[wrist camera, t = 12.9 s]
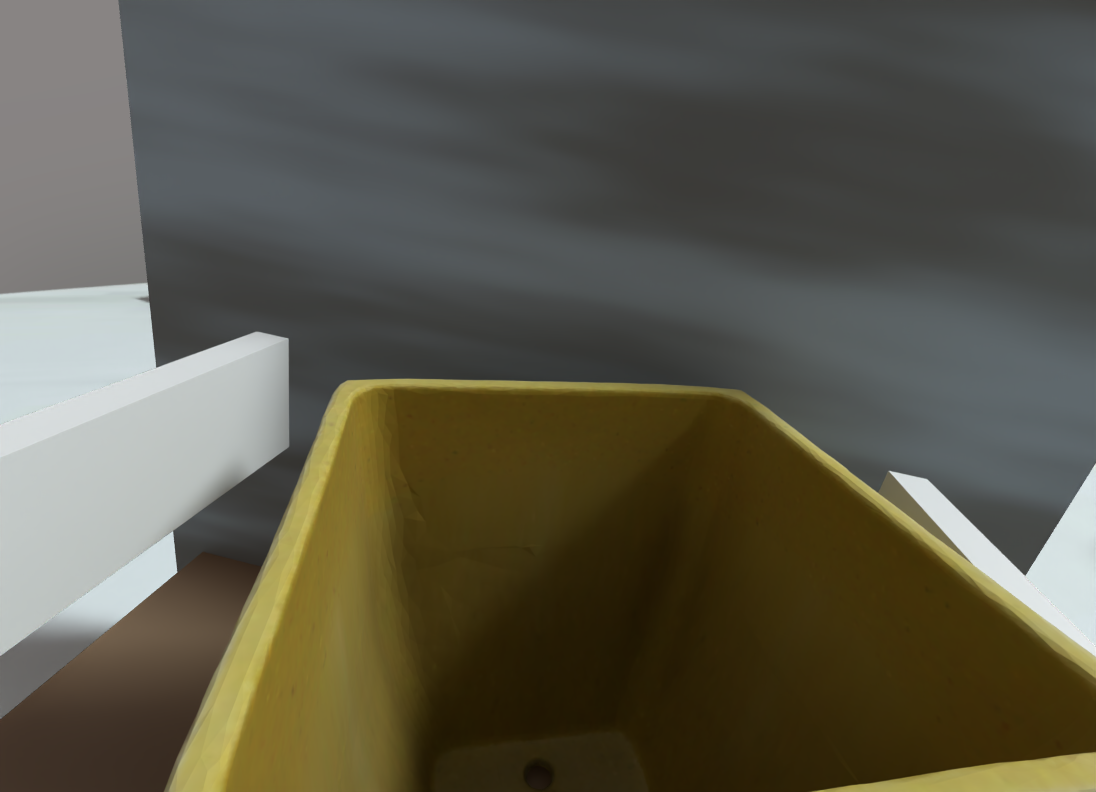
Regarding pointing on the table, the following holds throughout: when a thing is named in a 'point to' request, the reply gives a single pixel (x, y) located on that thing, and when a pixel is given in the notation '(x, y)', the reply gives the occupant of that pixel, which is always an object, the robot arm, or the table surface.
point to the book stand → (603, 255)
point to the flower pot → (620, 614)
